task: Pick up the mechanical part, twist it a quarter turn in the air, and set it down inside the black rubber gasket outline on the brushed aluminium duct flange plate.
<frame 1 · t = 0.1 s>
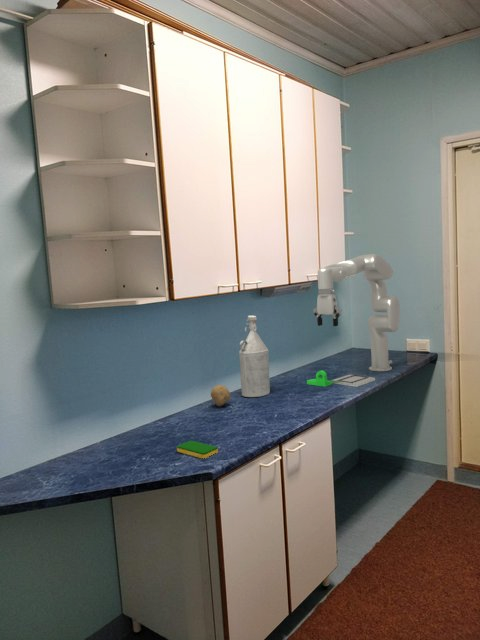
hand: (327, 325, 260), 31 cm above the worktop, tool pointing down, fingers open, 9 cm apart
duct flange: (353, 381, 267), on the worktop
dish sponge: (197, 453, 179), on the worktop
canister: (255, 394, 255), on the worktop
mechanical part: (319, 384, 267), on the worktop
natural sponge: (221, 406, 238), on the worktop
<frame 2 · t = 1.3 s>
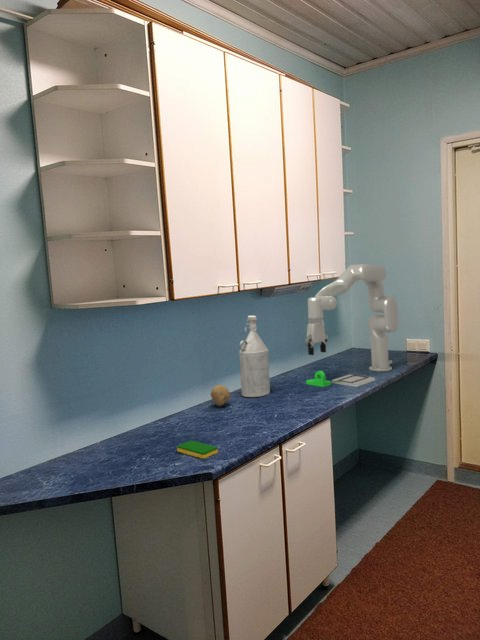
hand: (317, 353, 266), 16 cm above the worktop, tool pointing down, fingers open, 9 cm apart
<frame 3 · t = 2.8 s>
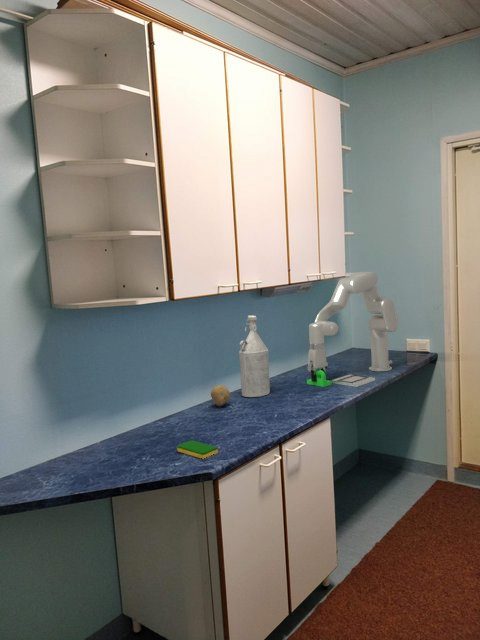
hand: (318, 380, 267), 2 cm above the worktop, tool pointing down, fingers closed on mechanical part, 6 cm apart
mechanical part: (319, 384, 267), on the worktop, touching gripper
everything else where it was.
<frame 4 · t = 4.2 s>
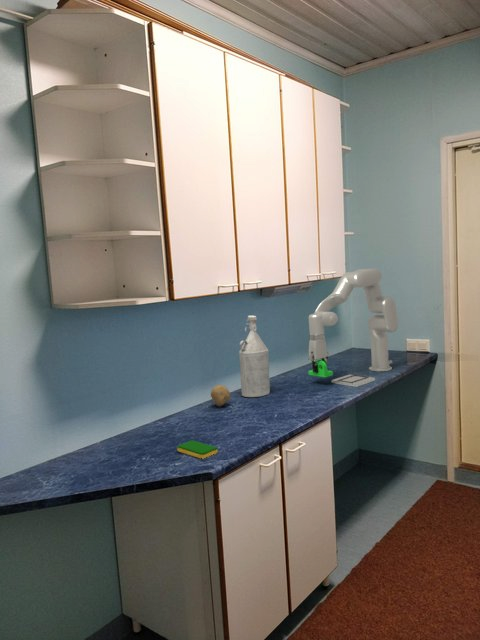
hand: (319, 370, 267), 7 cm above the worktop, tool pointing down, fingers closed on mechanical part, 6 cm apart
mechanical part: (320, 375, 267), point 5 cm above the worktop, touching gripper
everything else where it was.
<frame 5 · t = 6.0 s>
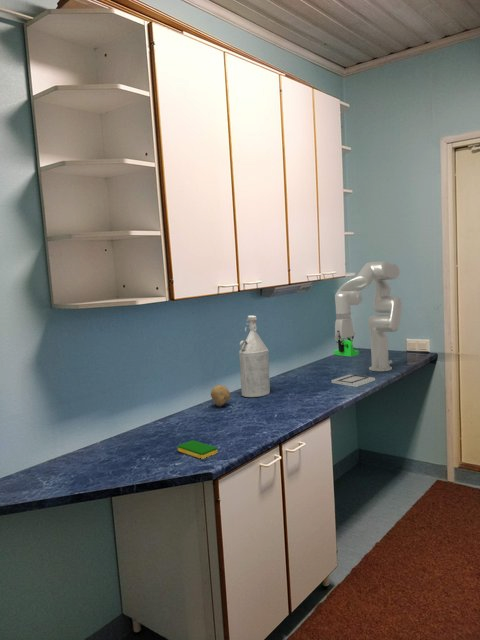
hand: (345, 350, 266), 17 cm above the worktop, tool pointing down, fingers closed on mechanical part, 6 cm apart
mechanical part: (346, 354, 266), point 15 cm above the worktop, touching gripper
everything else where it was.
when the fingers open (4 cm above the worktop, at t = 9.0 s): mechanical part stays where it is, resting on duct flange.
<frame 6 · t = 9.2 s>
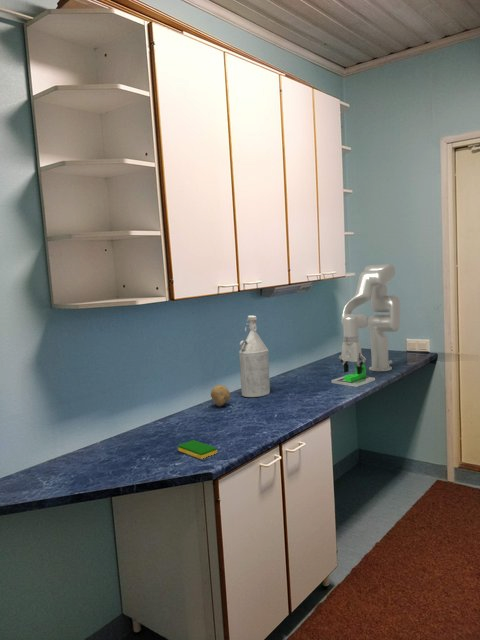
hand: (352, 372, 267), 5 cm above the worktop, tool pointing down, fingers open, 7 cm apart
mechanical part: (353, 379, 267), point 1 cm above the worktop, touching duct flange
everything else where it was.
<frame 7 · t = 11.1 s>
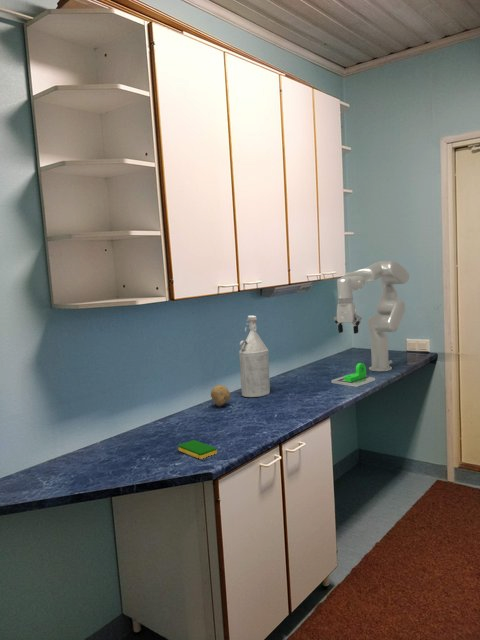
hand: (348, 332, 272), 25 cm above the worktop, tool pointing down, fingers open, 9 cm apart
nothing on the worktop moved.
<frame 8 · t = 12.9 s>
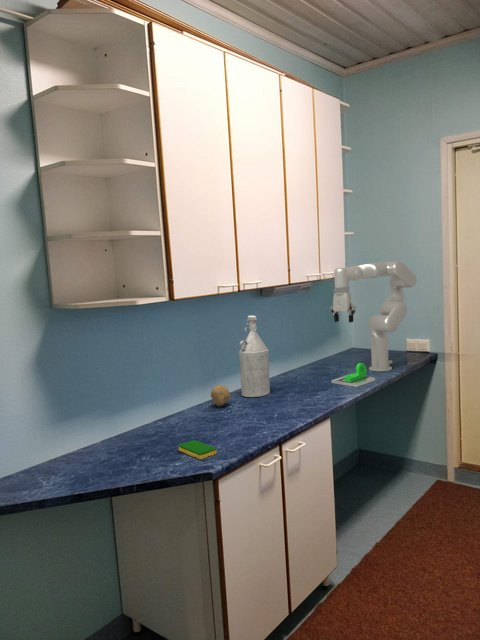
hand: (343, 321, 278), 30 cm above the worktop, tool pointing down, fingers open, 9 cm apart
nothing on the worktop moved.
at the end: mechanical part 0.6 cm off-centre on the duct flange, point 1.3 cm above the duct flange's base; mechanical part tilted 0°; the gripper is holding nothing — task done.
